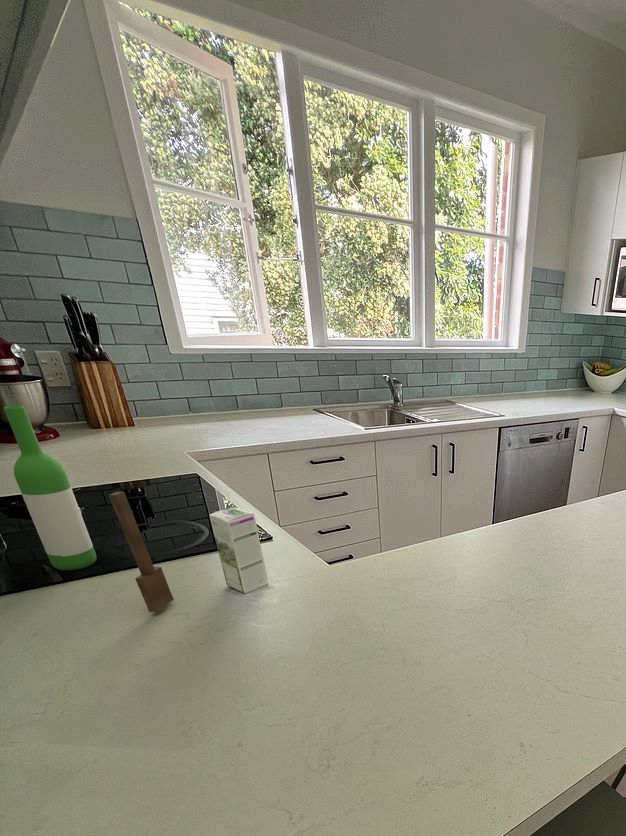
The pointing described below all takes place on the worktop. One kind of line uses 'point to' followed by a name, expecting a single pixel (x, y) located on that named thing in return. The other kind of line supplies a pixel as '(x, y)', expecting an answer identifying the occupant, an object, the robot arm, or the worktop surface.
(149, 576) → the brown paddle
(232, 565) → the syrup box
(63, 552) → the wine bottle
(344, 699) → the worktop surface
